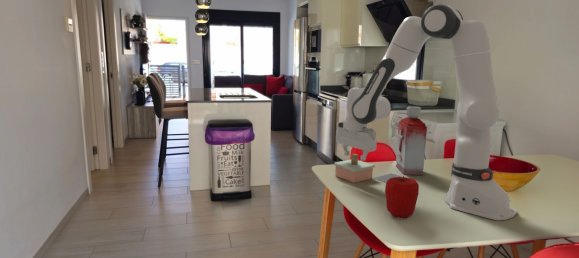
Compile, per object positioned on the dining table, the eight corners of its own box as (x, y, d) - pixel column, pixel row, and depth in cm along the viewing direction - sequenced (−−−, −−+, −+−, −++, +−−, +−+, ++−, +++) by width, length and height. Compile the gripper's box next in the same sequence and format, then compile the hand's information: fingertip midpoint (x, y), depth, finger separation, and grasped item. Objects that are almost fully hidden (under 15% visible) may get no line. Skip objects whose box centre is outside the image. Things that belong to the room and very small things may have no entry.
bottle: (425, 176, 166) (431, 109, 160) (401, 176, 166) (406, 108, 160) (415, 167, 180) (420, 105, 175) (393, 167, 180) (398, 104, 175)
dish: (372, 179, 160) (372, 167, 159) (353, 184, 154) (354, 171, 153) (353, 173, 169) (353, 161, 168) (335, 177, 162) (335, 165, 161)
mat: (416, 182, 158) (416, 181, 158) (397, 188, 150) (397, 186, 150) (391, 174, 168) (391, 173, 168) (372, 179, 160) (372, 178, 160)
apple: (408, 208, 129) (411, 170, 127) (422, 221, 119) (426, 180, 117) (378, 209, 128) (381, 171, 125) (390, 222, 118) (393, 181, 115)
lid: (374, 167, 159) (375, 155, 158) (354, 171, 152) (355, 159, 151) (353, 161, 168) (354, 150, 167) (334, 165, 161) (334, 153, 160)
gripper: (380, 128, 151) (378, 161, 153) (344, 121, 167) (343, 151, 169) (370, 130, 147) (368, 164, 149) (334, 122, 163) (332, 153, 166)
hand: (354, 157), depth 160 cm, fingers open, 8 cm apart
